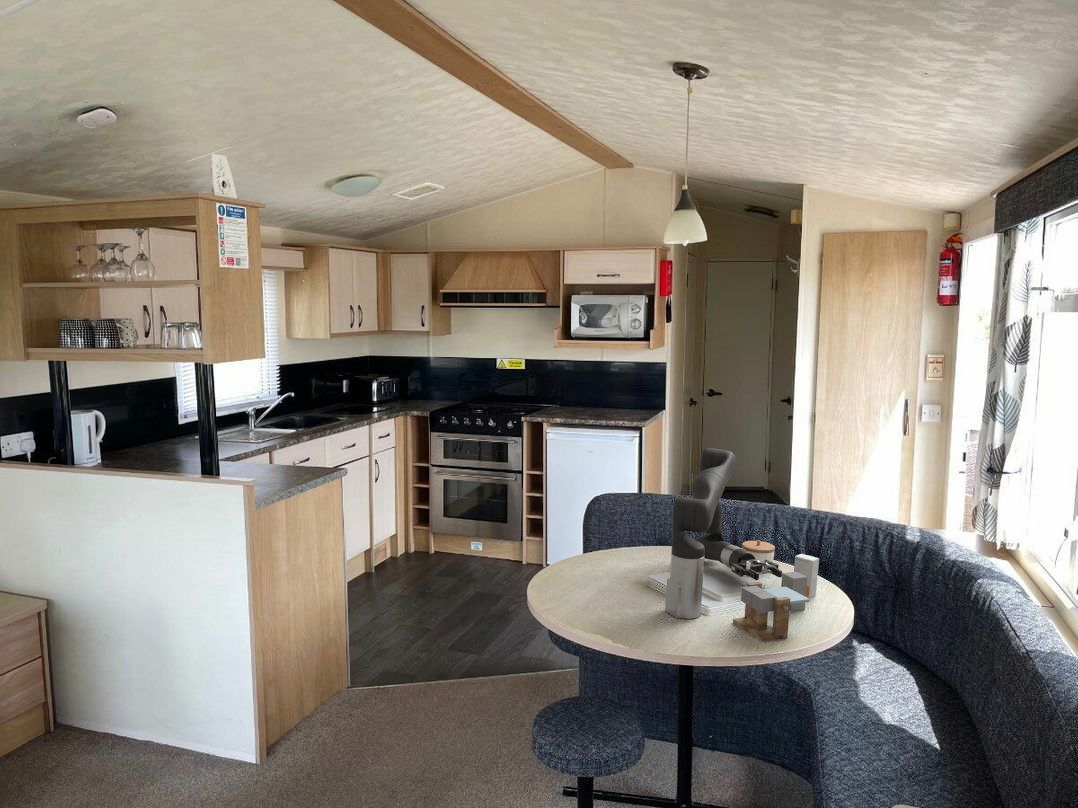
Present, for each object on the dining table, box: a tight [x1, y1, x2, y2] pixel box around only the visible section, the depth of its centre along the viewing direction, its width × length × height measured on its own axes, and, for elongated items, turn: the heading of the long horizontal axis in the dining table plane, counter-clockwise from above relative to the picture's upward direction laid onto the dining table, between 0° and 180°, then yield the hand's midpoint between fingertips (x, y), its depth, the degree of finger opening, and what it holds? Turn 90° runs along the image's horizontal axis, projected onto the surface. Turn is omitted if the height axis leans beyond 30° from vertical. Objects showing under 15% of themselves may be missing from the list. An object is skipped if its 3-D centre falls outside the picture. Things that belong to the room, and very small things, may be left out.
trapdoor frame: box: [732, 581, 790, 643], centre depth 221 cm, size 16×8×11 cm, turn 22°
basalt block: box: [780, 571, 807, 613], centre depth 238 cm, size 5×5×10 cm
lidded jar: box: [741, 539, 776, 571], centre depth 275 cm, size 11×11×9 cm
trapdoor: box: [740, 586, 811, 613], centre depth 222 cm, size 10×15×4 cm, turn 112°
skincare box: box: [793, 553, 820, 600], centre depth 250 cm, size 6×4×12 cm
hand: (769, 575), depth 248 cm, fingers open, 8 cm apart
